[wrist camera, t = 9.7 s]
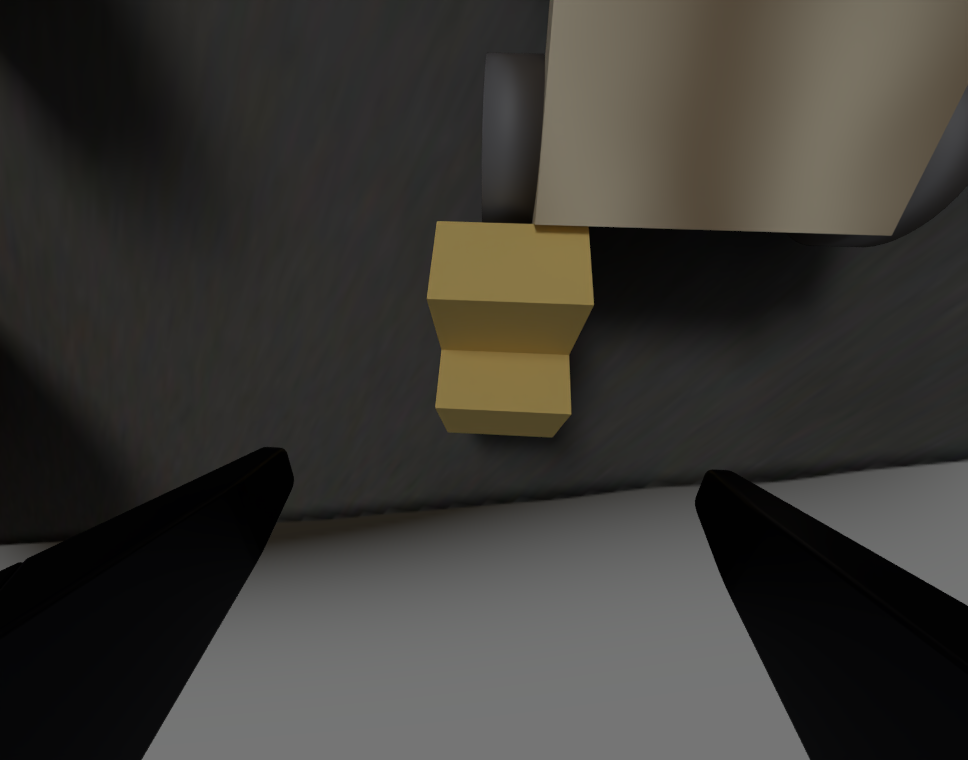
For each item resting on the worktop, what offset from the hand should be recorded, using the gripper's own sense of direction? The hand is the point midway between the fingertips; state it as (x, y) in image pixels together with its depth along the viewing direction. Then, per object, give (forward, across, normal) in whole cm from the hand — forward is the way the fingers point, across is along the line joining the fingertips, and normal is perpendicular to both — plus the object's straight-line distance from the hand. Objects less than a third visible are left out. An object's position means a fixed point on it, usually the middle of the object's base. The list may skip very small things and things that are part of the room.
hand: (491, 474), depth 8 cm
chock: (+8, 0, -2) cm, 8 cm away
